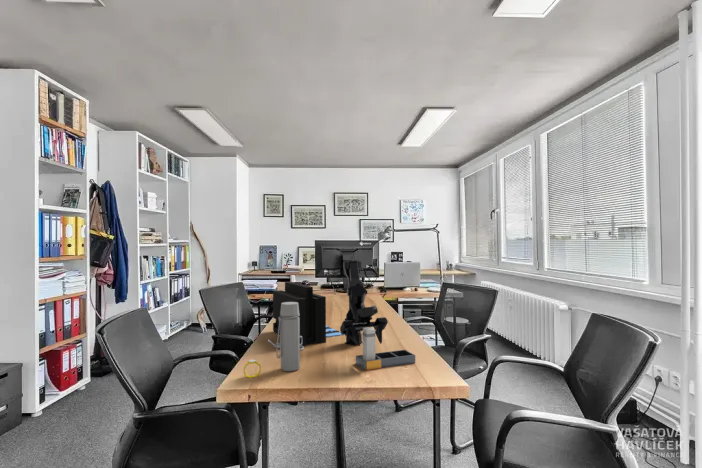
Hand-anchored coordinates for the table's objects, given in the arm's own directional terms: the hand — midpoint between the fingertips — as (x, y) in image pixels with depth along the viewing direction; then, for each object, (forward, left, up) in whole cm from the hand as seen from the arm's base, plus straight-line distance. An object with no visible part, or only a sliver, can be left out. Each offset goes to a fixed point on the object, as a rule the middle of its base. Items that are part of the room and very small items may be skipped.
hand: (370, 344), depth 148 cm
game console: (-48, +35, -9) cm, 61 cm away
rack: (+4, +6, -9) cm, 12 cm away
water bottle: (-28, -15, -9) cm, 33 cm away
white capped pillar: (-1, +1, -8) cm, 8 cm away
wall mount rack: (-44, +7, -9) cm, 46 cm away
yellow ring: (-35, -27, -9) cm, 45 cm away
